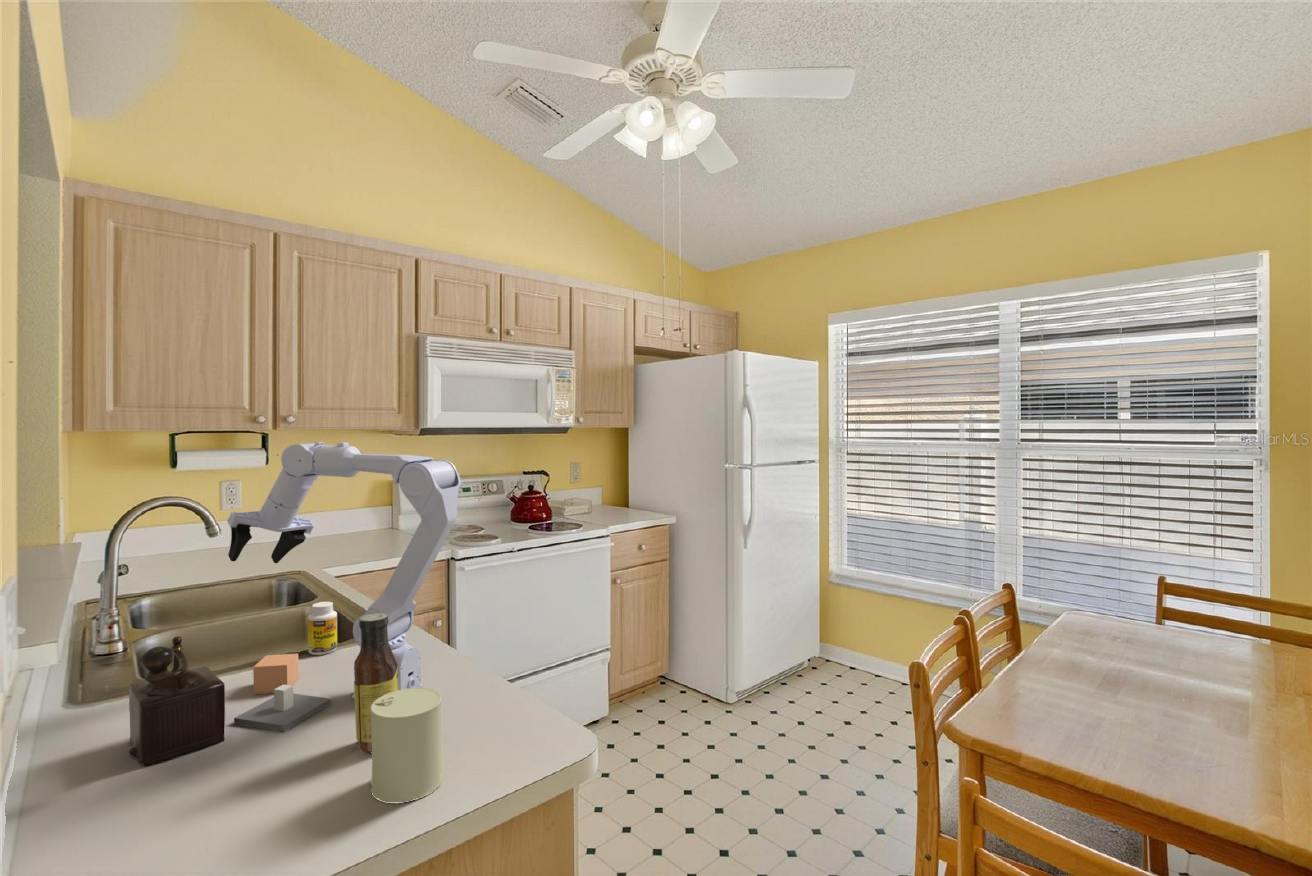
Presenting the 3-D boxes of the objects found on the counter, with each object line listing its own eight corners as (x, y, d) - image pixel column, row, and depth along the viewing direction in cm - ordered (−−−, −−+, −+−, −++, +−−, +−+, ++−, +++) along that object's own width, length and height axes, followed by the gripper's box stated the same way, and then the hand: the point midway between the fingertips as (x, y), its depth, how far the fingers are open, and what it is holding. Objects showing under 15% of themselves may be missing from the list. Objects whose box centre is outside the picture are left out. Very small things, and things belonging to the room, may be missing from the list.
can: (384, 767, 92) (383, 685, 92) (449, 764, 93) (449, 683, 92) (360, 806, 83) (359, 715, 82) (433, 802, 84) (432, 712, 83)
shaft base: (330, 704, 112) (330, 678, 112) (284, 731, 102) (283, 704, 102) (283, 697, 114) (283, 672, 114) (234, 723, 104) (233, 696, 104)
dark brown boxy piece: (122, 745, 98) (119, 629, 97) (208, 719, 106) (205, 612, 105) (144, 784, 87) (141, 655, 87) (237, 753, 96) (235, 634, 95)
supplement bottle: (309, 658, 133) (308, 609, 132) (307, 649, 137) (306, 602, 137) (339, 652, 136) (338, 605, 135) (335, 644, 140) (335, 598, 140)
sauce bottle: (409, 740, 99) (407, 614, 99) (373, 759, 94) (371, 626, 93) (381, 730, 103) (380, 608, 102) (345, 747, 97) (344, 618, 97)
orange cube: (298, 679, 122) (298, 653, 122) (287, 691, 117) (286, 664, 116) (266, 681, 121) (266, 655, 121) (253, 694, 116) (253, 667, 115)
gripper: (315, 493, 127) (285, 548, 129) (237, 482, 116) (205, 543, 118) (328, 513, 123) (297, 570, 125) (248, 504, 112) (215, 567, 114)
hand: (253, 559), depth 121 cm, fingers open, 7 cm apart
